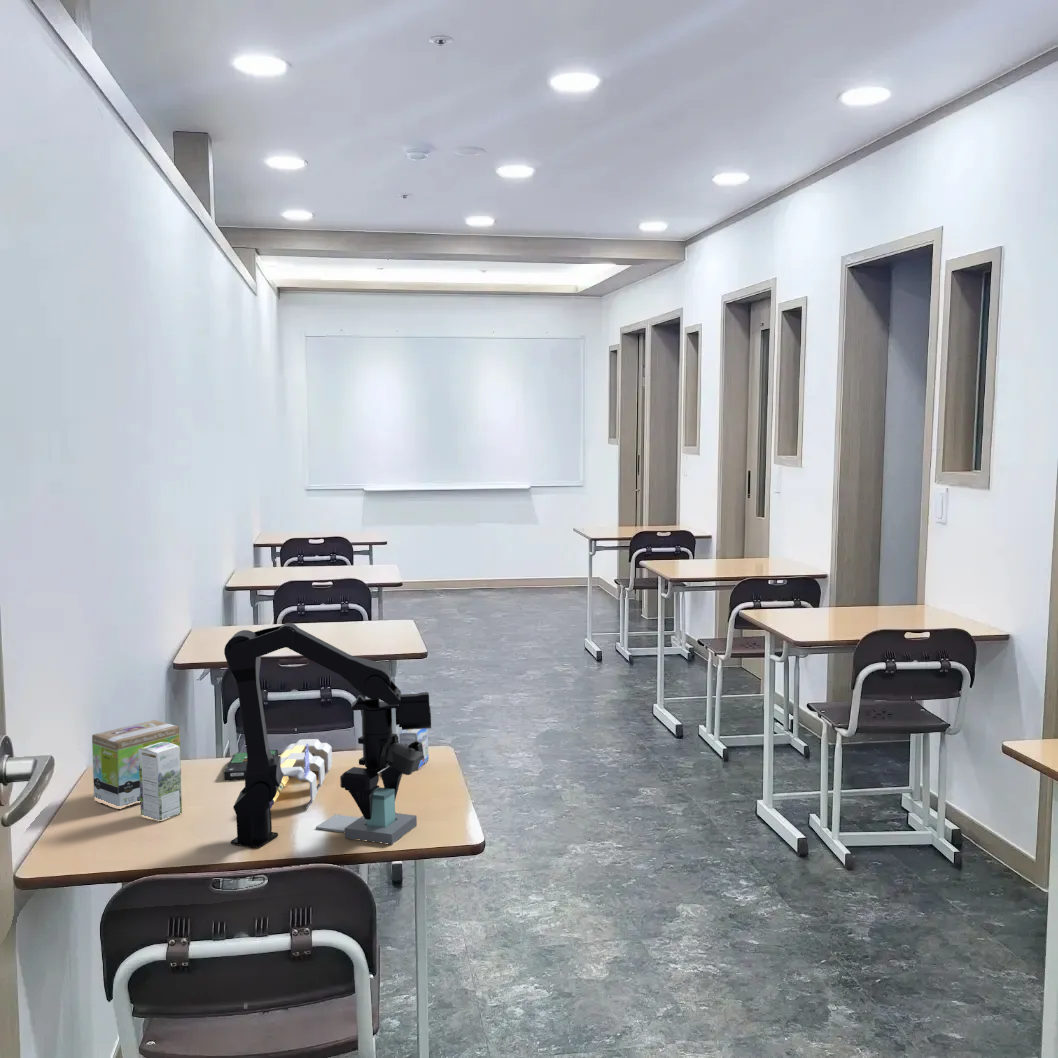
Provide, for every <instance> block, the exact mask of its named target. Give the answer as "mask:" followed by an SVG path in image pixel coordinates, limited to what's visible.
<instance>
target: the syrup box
mask: <svg viewBox="0 0 1058 1058" xmlns="http://www.w3.org/2000/svg"><path fill="white" fill-rule="evenodd" d="M138 755H139V778H140V801H141V803H140V816H141V815H144V816H148V817H151V818H153V819H157V820H162V819H165V818H168V817H172V816H174V817H176V816H175V815H177V814H179V815H181V814H182V813H183V808H182V807H183V804H182V803H183V802H182V800H183V799H182V772H181V773H180V760H181V746H180V747H179V746H178V745H175V744H172V743H168V742H159V743H156V744H153V745H150V746H147V747H144V748H141V749H139V750H138ZM180 813H181V814H180ZM177 816H178V815H177ZM172 818H173V817H172Z"/></svg>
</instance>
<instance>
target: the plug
mask: <svg viewBox="0 0 1058 1058" xmlns="http://www.w3.org/2000/svg"><path fill="white" fill-rule="evenodd" d="M394 793H395V789H390V788H384V787H381V786H379V787H378V789H377V790H376V791H375V792H374V793H373V804H372V816H371V819H370V820H367V819H366V821H367V825H369V826H377V827H385V828H386V827H388V826H389V825H390V824H392V823H393V822H394V821H395V813H396V806H395V805H396V799H395V795H394Z"/></svg>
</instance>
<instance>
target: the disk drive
mask: <svg viewBox="0 0 1058 1058" xmlns="http://www.w3.org/2000/svg"><path fill="white" fill-rule="evenodd" d="M270 752H271V754H272V756H273V758H275V757H278V756H279V749H270ZM246 765H247V751H243V752H240V751H238V752H236V753H234V754H233V755H232V756H231V759H229V762H228V764H227V766H226V768H225V769H224V771H223V777H224V778H223V779H224V780H225V782H226V780H229V781H242V779H243V781H245V780H244V779H245V774H246ZM240 779H241V780H240Z"/></svg>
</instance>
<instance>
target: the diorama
mask: <svg viewBox="0 0 1058 1058" xmlns="http://www.w3.org/2000/svg"><path fill="white" fill-rule="evenodd" d="M332 748H333V747H332V746H331V745H330V744H329V743H328V742H321V741H320V740H319V739H318V738H313V739H307V738H305V739H298V741H297V742H296V743H290V744H289V745H287V747H285V749H284V750H283V752H282V753H281V754H280V756H281V770H282V772H283V774H284V776H283V778H282V781H281V784H280V786H279V788H278V790H277V793H276V795H275V797H274V799H273V800H272V801H271V802H269V803H270V810H271V809H272V807H273V806H274V804H273V803H275V802H276V801H277V799H278V797H279V796H280V795H281V793H282V791H283V790H284V788H285V786H286V785H287V783H288V781H289V780H290V778H291V777H296V778H297V779H298V780H299V781H306V782H308V783H309V790H310V791H309V794H310V796H309V797H310V799H309V802H308V803H307V805H306V807H305V809H308V808H309V809H310V807H311V805H312V804H313V802H314V801H315V798H316V796H317V795H318V792H319V789H320V788H321V786H322V785H323V783H324V781H325V779H326V776H327V774H328V772H329V771H330V769H331V767H332V765H333V751H332ZM312 771H319V772H318V784H317V774H315V772H312ZM325 775H326V776H325ZM285 784H286V785H285ZM280 792H281V793H280ZM272 805H273V806H272ZM309 806H310V807H309ZM309 809H308V810H309Z"/></svg>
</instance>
